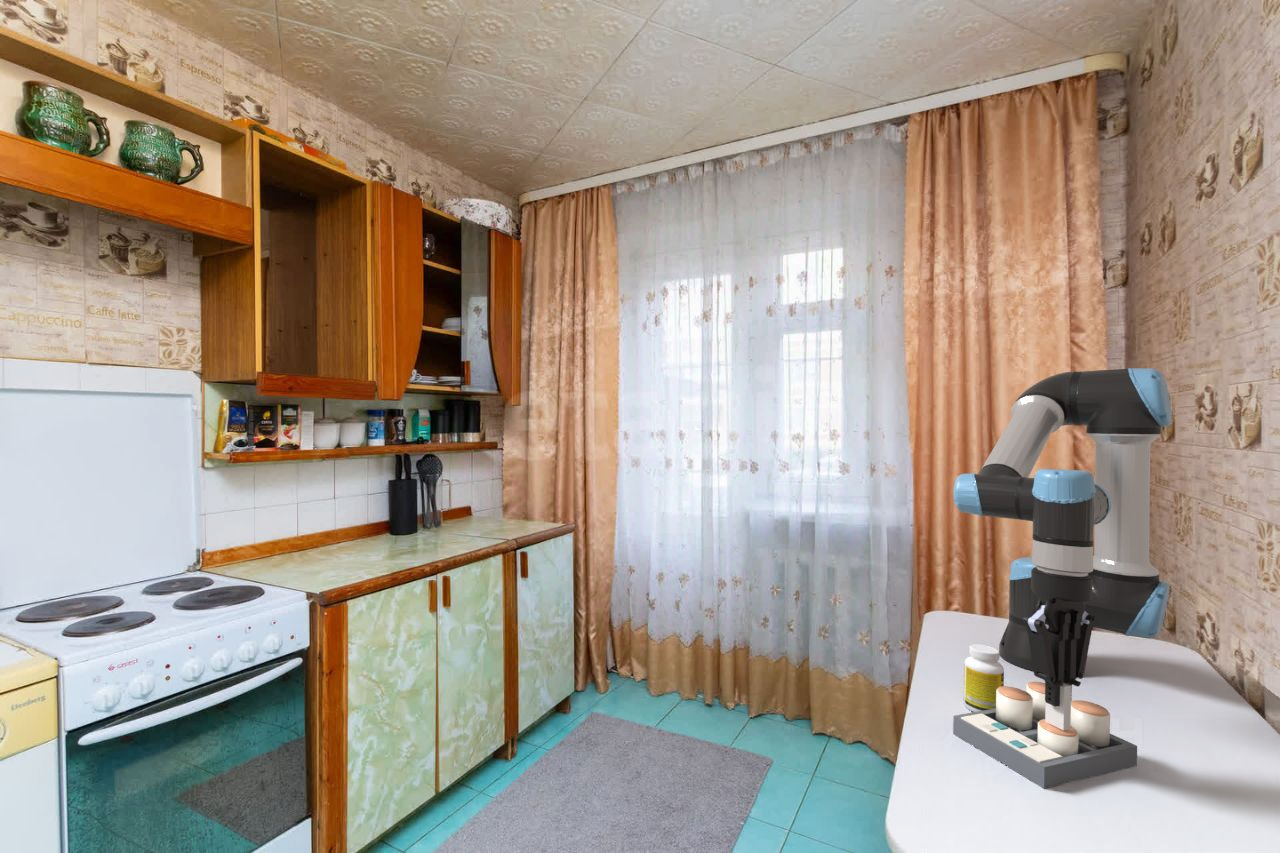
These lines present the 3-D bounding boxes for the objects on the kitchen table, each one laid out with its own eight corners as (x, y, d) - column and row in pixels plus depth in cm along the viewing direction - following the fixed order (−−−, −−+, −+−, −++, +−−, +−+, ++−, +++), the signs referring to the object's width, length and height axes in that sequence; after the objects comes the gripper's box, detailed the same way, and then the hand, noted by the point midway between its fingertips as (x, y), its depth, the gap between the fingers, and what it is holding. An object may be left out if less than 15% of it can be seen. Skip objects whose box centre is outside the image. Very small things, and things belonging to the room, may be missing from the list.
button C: (1010, 712, 96) (1010, 684, 96) (1039, 727, 91) (1040, 697, 91) (988, 716, 94) (989, 687, 94) (1017, 731, 89) (1018, 701, 89)
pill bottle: (1009, 720, 99) (1010, 657, 99) (970, 715, 100) (972, 653, 100) (994, 703, 105) (996, 644, 105) (958, 699, 106) (959, 640, 106)
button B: (1082, 727, 91) (1083, 697, 91) (1117, 743, 86) (1118, 712, 87) (1061, 732, 90) (1061, 701, 90) (1095, 748, 85) (1096, 716, 85)
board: (1038, 717, 100) (1039, 698, 100) (1136, 765, 86) (1137, 743, 86) (953, 733, 93) (953, 713, 93) (1044, 788, 79) (1044, 764, 79)
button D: (1051, 747, 89) (1052, 716, 89) (1086, 765, 84) (1086, 732, 84) (1029, 751, 87) (1030, 720, 87) (1062, 770, 83) (1063, 737, 83)
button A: (1039, 707, 98) (1040, 679, 98) (1069, 721, 93) (1070, 692, 93) (1018, 711, 96) (1019, 682, 96) (1048, 725, 91) (1049, 696, 92)
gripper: (1065, 563, 92) (1061, 708, 91) (1007, 566, 88) (1003, 718, 87) (1117, 574, 85) (1113, 732, 84) (1056, 578, 80) (1052, 744, 80)
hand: (1057, 725), depth 86 cm, fingers closed
